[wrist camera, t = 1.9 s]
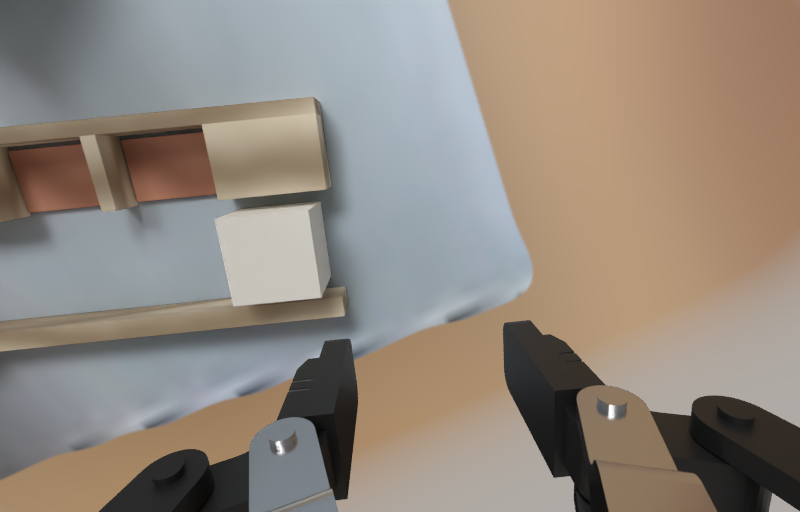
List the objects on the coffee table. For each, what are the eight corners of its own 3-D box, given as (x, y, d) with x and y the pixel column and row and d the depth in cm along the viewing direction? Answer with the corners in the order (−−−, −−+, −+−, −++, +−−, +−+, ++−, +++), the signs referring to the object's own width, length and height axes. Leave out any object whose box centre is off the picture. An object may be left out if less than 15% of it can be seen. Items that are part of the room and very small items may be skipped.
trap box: (-126, 145, 27) (-210, 144, 24) (319, 101, 28) (308, 93, 24) (-40, 343, 32) (-100, 370, 28) (347, 303, 32) (342, 324, 28)
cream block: (242, 208, 30) (214, 219, 25) (320, 200, 30) (308, 210, 25) (256, 282, 31) (233, 306, 26) (331, 275, 31) (321, 298, 27)
